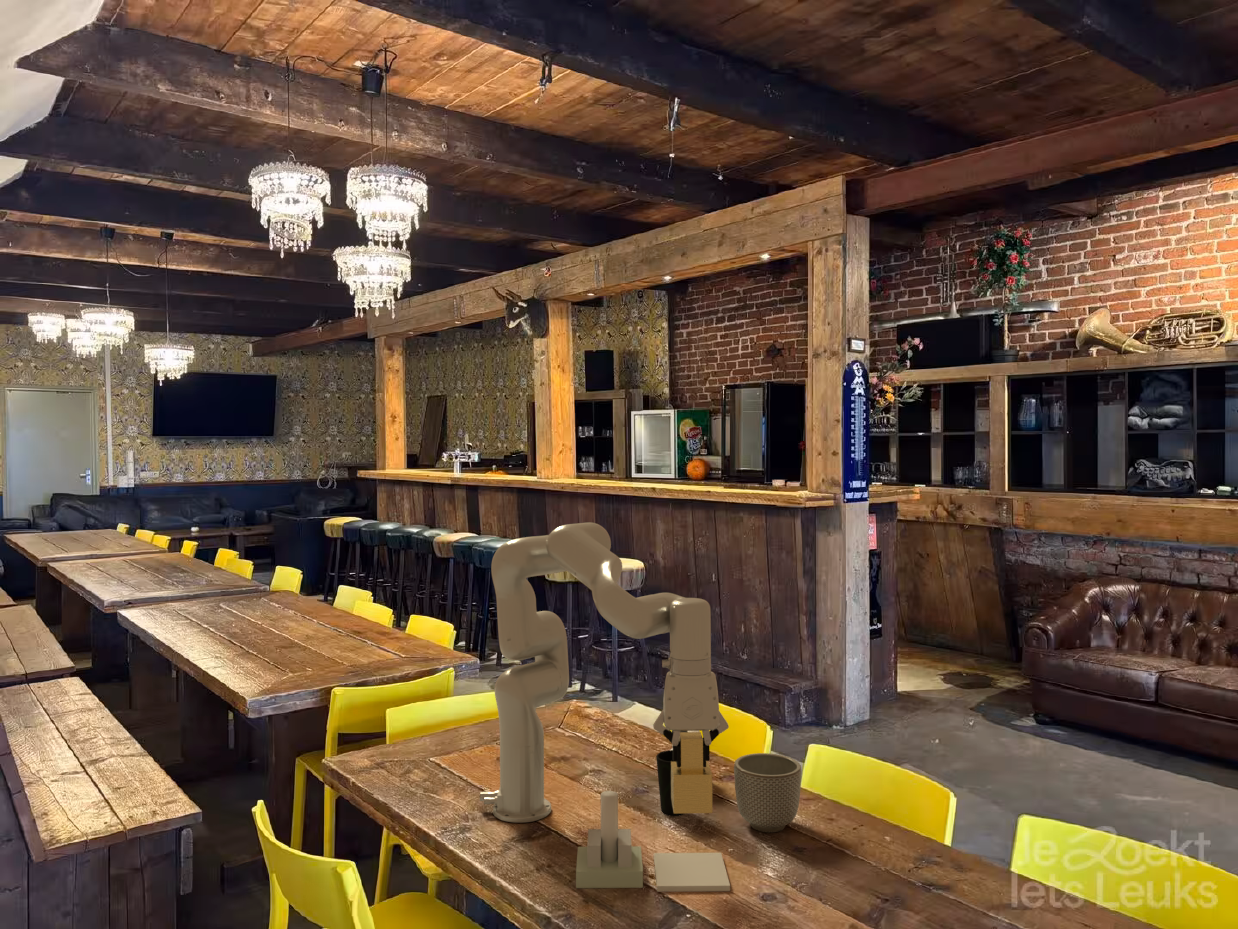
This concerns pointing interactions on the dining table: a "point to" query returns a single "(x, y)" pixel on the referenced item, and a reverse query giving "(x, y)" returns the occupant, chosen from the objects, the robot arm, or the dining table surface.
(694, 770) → the stepped wooden tower
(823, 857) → the dining table surface
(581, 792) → the dining table surface
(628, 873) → the vise
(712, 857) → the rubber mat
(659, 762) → the cup
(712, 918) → the dining table surface
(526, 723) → the robot arm
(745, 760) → the planter
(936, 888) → the dining table surface
